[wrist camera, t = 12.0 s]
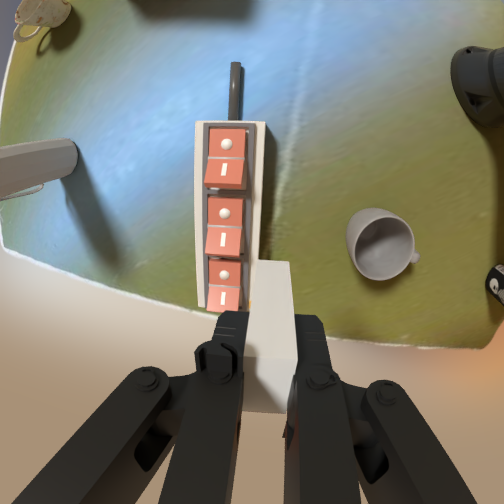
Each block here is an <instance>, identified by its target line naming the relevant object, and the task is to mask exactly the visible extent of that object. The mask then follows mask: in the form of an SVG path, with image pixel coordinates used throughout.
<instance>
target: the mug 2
mask: <svg viewBox="0 0 504 504" xmlns="http://www.w3.org/2000/svg"><path fill="white" fill-rule="evenodd" d="M346 244H347V249H348V252H349V255H350V257H351V259H352V261H353V263H354V265H355V266H356V268H357V269H358V271H359V272H360V273H361V274H362V275H364V276H365V277H367V278H369V279H372V280H387V279H390V278H393V277H395V276H396V275H398V274H399V273H401V272H402V271H403V270H404V269H405V268H406V267H407V265H408V264H409V262H411V263H414V264H416V263H417V262H418V261H419V259H420V254H419V253H418V252H417V251H416V250H415V249H414V246H415V241H414V235H413V232H412V230H411V228H410V226H409V225H408V224H407V223H406V222H405V221H404V220H403V219H402V218H400V217H399V216H397V215H395V214H394V213H392V212H389V211H387V210H384V209H380V208H367V209H363V210H361V211H358V212H357V213H355V214H354V215H353V216H352V217H351V219H350V221H349V223H348V226H347V229H346Z"/></svg>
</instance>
